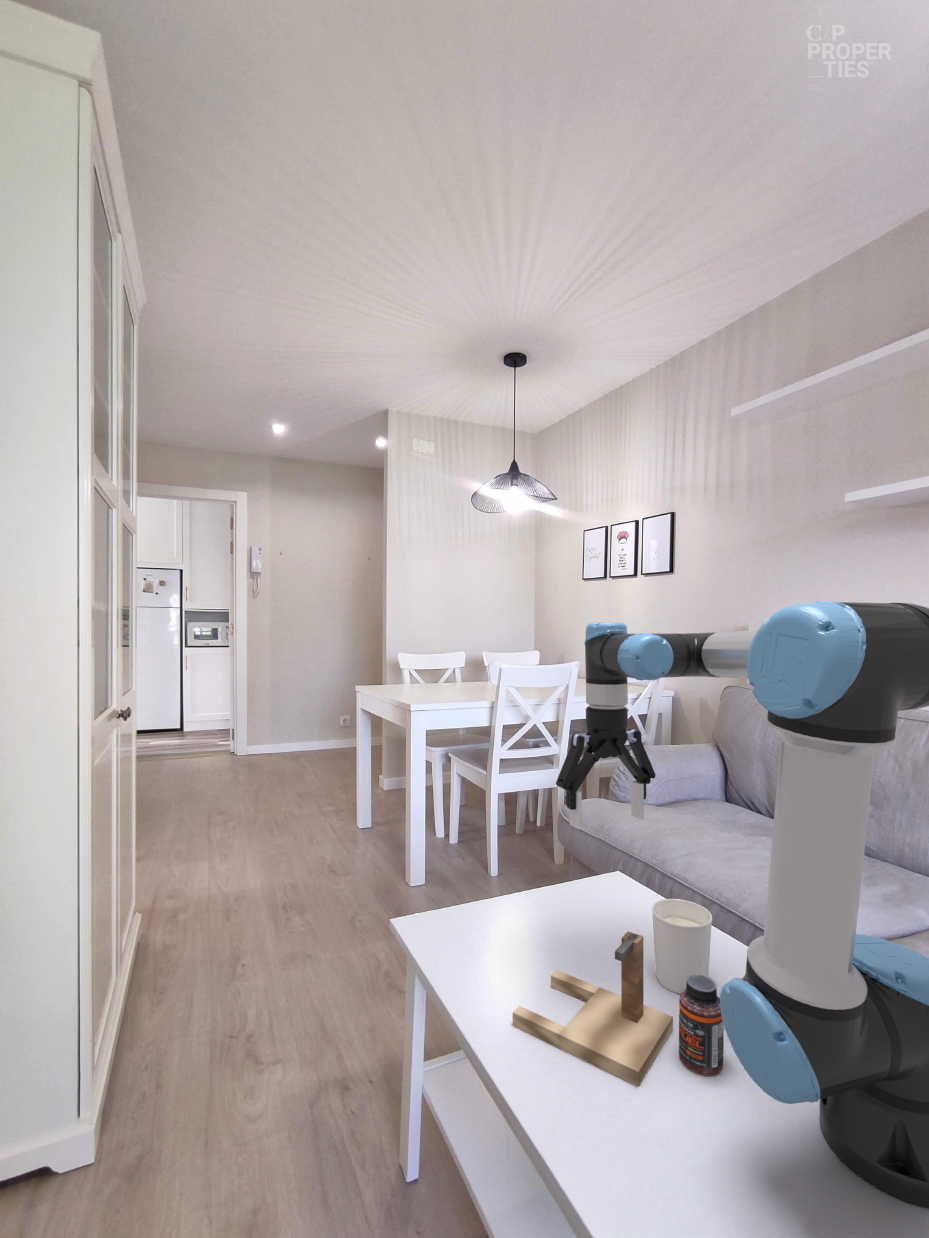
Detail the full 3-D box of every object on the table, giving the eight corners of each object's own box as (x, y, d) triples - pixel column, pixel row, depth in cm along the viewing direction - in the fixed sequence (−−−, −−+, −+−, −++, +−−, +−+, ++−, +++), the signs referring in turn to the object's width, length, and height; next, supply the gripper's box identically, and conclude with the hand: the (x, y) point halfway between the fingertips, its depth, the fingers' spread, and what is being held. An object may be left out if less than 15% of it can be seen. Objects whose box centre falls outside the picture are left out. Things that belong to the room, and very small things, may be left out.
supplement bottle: (670, 1060, 85) (670, 980, 85) (690, 1040, 89) (690, 964, 89) (712, 1084, 81) (712, 1000, 81) (731, 1062, 85) (731, 982, 85)
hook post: (643, 1014, 92) (643, 936, 92) (627, 1037, 87) (626, 955, 87) (627, 1008, 93) (627, 931, 93) (610, 1030, 88) (610, 949, 88)
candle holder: (717, 1002, 98) (717, 929, 98) (655, 994, 100) (655, 923, 100) (706, 968, 107) (706, 901, 107) (649, 961, 109) (649, 896, 109)
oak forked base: (672, 1029, 91) (672, 1016, 91) (638, 1086, 80) (638, 1071, 80) (556, 981, 103) (556, 969, 103) (512, 1025, 92) (512, 1012, 92)
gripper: (647, 700, 118) (648, 807, 118) (536, 707, 109) (537, 824, 108) (674, 704, 111) (675, 819, 111) (558, 712, 102) (559, 837, 102)
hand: (607, 822), depth 110 cm, fingers open, 13 cm apart
